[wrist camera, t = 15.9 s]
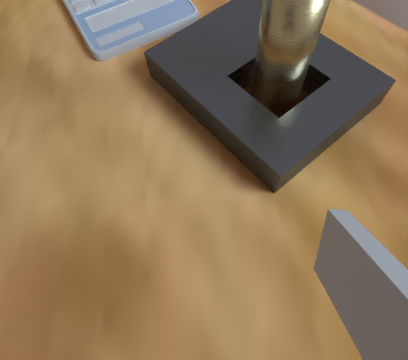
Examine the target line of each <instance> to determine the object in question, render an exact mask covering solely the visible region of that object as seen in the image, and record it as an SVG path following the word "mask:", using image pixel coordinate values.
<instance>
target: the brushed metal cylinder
mask: <svg viewBox="0 0 408 360" xmlns="http://www.w3.org/2000/svg"><path fill="white" fill-rule="evenodd" d="M329 3H330V0H263V1H262V9H261V17H260V26H259V34H258V42H257V51H256V59H255V68H254V76H253V84H252V93H251V96H252V97H254V98H255V99H256V100H257V101H259V102H260V103H261V104H262V105H264V106H265V107H266V108H267V109H268V110H270V111H271V112H272V113H273V114H275V115H276V116H277V117H278V118H280V117H282V116H283V115H284V114H286V113H287V112H288V111H290V110H291V109H292V108H293V107H295V106H296V105H297V102H298V98H299V95H300V92H301V89H302V86H303V83H304V80H305V77H306V74H307V71H308V68H309V64H310V61H311V58H312V55H313V52H314V49H315V46H316V43H317V40H318V37H319V34H320V30H321V27H322V24H323V21H324V18H325V15H326V12H327V9H328V6H329Z"/></svg>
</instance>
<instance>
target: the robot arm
mask: <svg viewBox="0 0 408 360" xmlns="http://www.w3.org/2000/svg"><path fill="white" fill-rule="evenodd" d="M314 270H315V272H316V274H317V275H318V277H319V279H320V281H321V283H322V285H323V287H324V288H325V290H326V292H327V294H328V296H329V298H330V300H331V301H332V303H333V305H334V307H335V309H336V311H337V312H338V314H339V316H340V318H341V320H342V322H343V324H344V325H345V327H346V329H347V331H348V333H349V335H350V336H351V338H352V340H353V342H354V344H355V346H356V348H357V349H358V351H359V353H360V355H361V357H362V359H363V360H408V270H407V269H406V268H405V267H404V266H403V265H402V264H401V263H400V262H399V261H398V260H397V259H396V258H395V257H394V256H393V255H392V254H391V253H390V252H389V251H388V250H387V249H386V248H385V247H384V246H383V245H382V244H381V243H380V242H379V241H378V240H377V239H376V238H375V237H374V236H373V235H372V234H371V233H370V232H369V231H368V230H367V229H366V228H365V227H364V226H363V225H362V224H361V223H360V222H359V221H358V220H357V219H355V218H354V217H353V216H352V215H351V214H350V213H349V212H348V211H347V210H334V209H328V211H327V215H326V219H325V223H324V228H323V232H322V236H321V240H320V244H319V249H318V253H317V257H316V261H315V265H314Z"/></svg>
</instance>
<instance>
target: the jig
mask: <svg viewBox="0 0 408 360" xmlns="http://www.w3.org/2000/svg"><path fill="white" fill-rule="evenodd" d="M262 1H263V0H231V1H230V2H228V3H226V4H224V5H223V6H221V7H219V8H218V9H216V10H214V11H213V12H211V13H209V14H208V15H206V16H204V17H203V18H201V19H199V20H197V21H196V22H194V23H192V24H191V25H189V26H187V27H186V28H184V29H182V30H181V31H179V32H177V33H176V34H174V35H172V36H170V37H169V38H167V39H165V40H164V41H162V42H160V43H159V44H157V45H155V46H154V47H152V48H150V49H149V50H147V51H145V52H144V54H145V58H146V61H147V65H148V68H149V72H150V75H151V77H153V78H154V79H155V80H156V81H157V82H158V83H159V84H160V85H161V86H162V87H163V88H164V89H165V90H166V91H167V92H168V93H169V94H170V95H172V96H173V97H174V98H175V99H176V100H177V101H178V102H179V103H180V104H181V105H182V106H183V107H184V108H185V109H186V110H187V111H188V112H189V113H191V114H192V115H193V116H194V117H195V118H196V119H197V120H198V121H199V122H200V123H201V124H202V125H203V126H204V127H205V128H206V129H207V130H208V131H210V132H211V133H212V134H213V135H214V136H215V137H216V138H217V139H218V140H219V141H220V142H221V143H222V144H223V145H224V146H225V147H226V148H227V149H229V150H230V151H231V152H232V153H233V154H234V155H235V156H236V157H237V158H238V159H239V160H240V161H241V162H242V163H243V164H244V165H245V166H246V167H247V168H249V169H250V170H251V171H252V172H253V173H254V174H255V175H256V176H257V177H258V178H259V179H260V180H261V181H262V182H263V183H264V184H265V185H266V186H268V187H269V188H270V189H271V190H272V191H273V192H274V193H275V192H276V191H277V190H279V189H280V188H281V187H282V186H283V185H285V184H286V183H287V182H288V181H289V180H290V179H292V178H293V177H294V176H295V175H296V174H298V173H299V172H300V171H301V170H302V169H303V168H305V167H306V166H307V165H308V164H309V163H311V162H312V161H313V160H314V159H315V158H317V157H318V156H319V155H320V154H321V153H322V152H324V151H325V150H326V149H327V148H328V147H330V146H331V145H332V144H333V143H334V142H335V141H337V140H338V139H339V138H340V137H341V136H343V135H344V134H345V133H346V132H347V131H348V130H350V129H351V128H352V127H353V126H354V125H356V124H357V123H358V122H359V121H360V120H361V119H363V118H364V117H365V116H366V115H367V114H369V113H370V112H371V111H372V110H373V109H374V108H376V107H377V106H378V105H379V104H380V103H381V102H382V100H383V99H384V97H385V96H386V94H387V93H388V91H389V90H390V88H391V87H392V86H393V84H394V83H395V81H396V80H394V79H393V78H391V77H390V76H388V75H386V74H385V73H383V72H382V71H380V70H378V69H377V68H375V67H374V66H372V65H370V64H369V63H367V62H366V61H364V60H362V59H361V58H359V57H358V56H356V55H354V54H353V53H351V52H350V51H348V50H346V49H345V48H343V47H341V46H340V45H338V44H337V43H335V42H333V41H332V40H330V39H329V38H327V37H325V36H324V35H322V34H321V33H320V34H319V37H318V40H317V43H316V46H315V49H314V52H313V55H312V58H311V61H310V64H309V68H308V71H307V74H306V77H305V80H304V83H303V86H302V88H303V89H304V90H305V91H307V92H308V93H309V94H311V95H309V96H308V97H307V98H305V99H304V100H303V101H301V102H300V103H299V104H297V105H296V106H295V107H293V108H292V109H291V110H290V111H288V112H287V113H286V114H284V115H283V116H282V117H280V118H278V117H277V116H276V115H275V114H273V113H272V112H271V111H270V110H268V109H267V108H266V107H265V106H264V105H262V104H261V103H260V102H259V101H257V100H256V99H255V98H254V97H252V96H251V95H250V94H249V93H248V92H246V91H245V90H244V89H243V87H245V86H246V85H248V84H249V83H251V82H252V81H253V76H254V68H255V59H256V51H257V42H258V34H259V26H260V17H261V9H262Z"/></svg>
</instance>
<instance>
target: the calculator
mask: <svg viewBox="0 0 408 360" xmlns="http://www.w3.org/2000/svg"><path fill="white" fill-rule="evenodd" d="M62 2H63V3H64V5H65V7H66V9H67V11H68V12H69V14H70V16H71V18H72V20H73V22H74V23H75V25H76V27H77V29H78V31H79V32H80V34H81V36H82V38H83V40H84V42H85V43H86V45H87V47H88V49H89V50H90V52H91V54H92V55H93V57H94V58H95V59H96V60H97V61H106V60H110V59H112V58H115V57H117V56H120V55H122V54H125V53H127V52H129V51H132V50H134V49H137V48H139V47H141V46H144V45H146V44H149V43H151V42H153V41H156V40H158V39H161V38H163V37H165V36H168V35H170V34H173V33H175V32H177V31H180V30H182V29H184V28H186V27H187V26H189V25H191V24H192V23H194V22H196V21H197V20H199V12H198V10H197V8H196V6H195V5H194V4H193V3H192V1H191V0H62Z"/></svg>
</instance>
